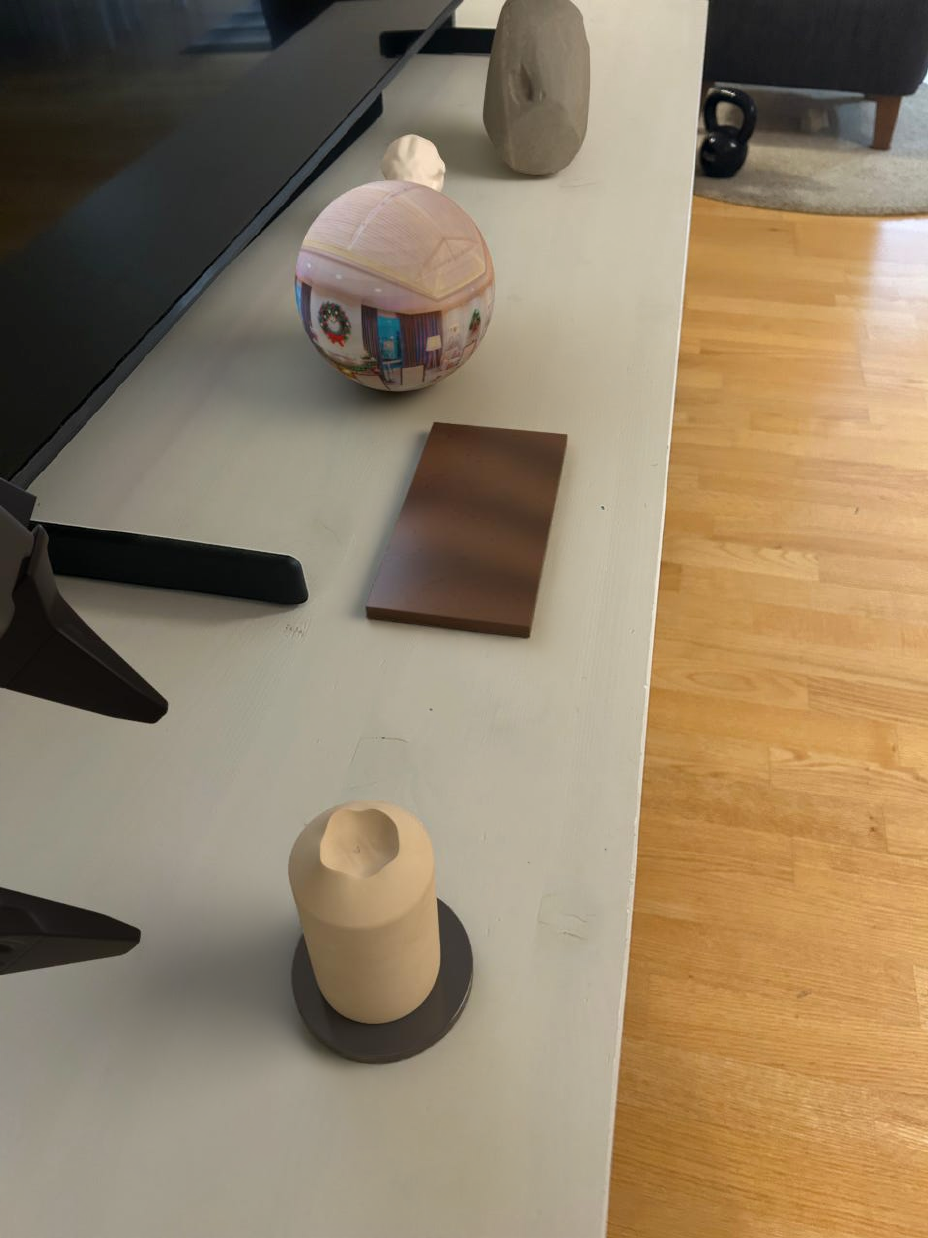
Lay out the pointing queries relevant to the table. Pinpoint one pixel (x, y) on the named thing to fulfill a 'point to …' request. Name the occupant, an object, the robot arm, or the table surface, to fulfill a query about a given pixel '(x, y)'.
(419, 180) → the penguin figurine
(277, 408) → the table surface
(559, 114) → the decorative stone
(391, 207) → the ornament
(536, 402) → the table surface
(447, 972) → the coaster
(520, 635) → the walnut board
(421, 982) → the candle
